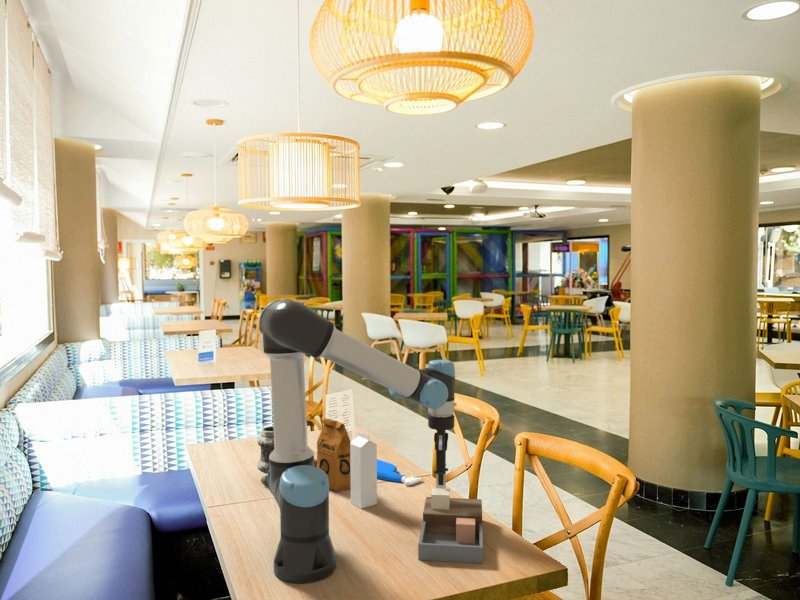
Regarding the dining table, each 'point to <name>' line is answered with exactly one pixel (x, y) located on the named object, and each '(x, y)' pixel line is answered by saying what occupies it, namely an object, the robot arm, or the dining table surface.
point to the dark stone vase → (265, 450)
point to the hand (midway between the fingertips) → (440, 494)
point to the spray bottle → (393, 474)
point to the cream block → (440, 498)
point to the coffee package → (334, 454)
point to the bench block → (451, 515)
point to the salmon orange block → (465, 530)
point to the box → (449, 547)
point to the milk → (363, 471)
